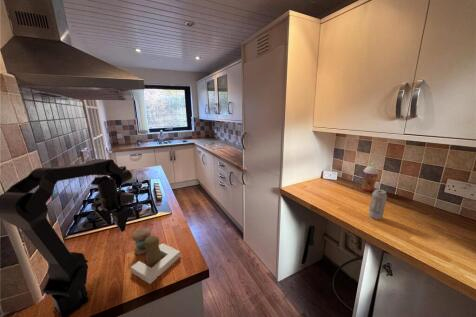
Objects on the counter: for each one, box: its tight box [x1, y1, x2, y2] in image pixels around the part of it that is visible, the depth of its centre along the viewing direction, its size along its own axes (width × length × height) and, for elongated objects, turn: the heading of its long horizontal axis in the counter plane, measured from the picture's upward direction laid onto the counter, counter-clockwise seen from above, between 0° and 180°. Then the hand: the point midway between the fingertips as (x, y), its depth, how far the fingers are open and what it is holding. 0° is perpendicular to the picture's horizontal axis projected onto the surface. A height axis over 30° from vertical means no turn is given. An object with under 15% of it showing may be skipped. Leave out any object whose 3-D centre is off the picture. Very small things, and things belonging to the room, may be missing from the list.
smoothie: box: [361, 161, 379, 193], centre depth 131 cm, size 8×8×20 cm
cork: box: [144, 235, 164, 268], centre depth 73 cm, size 6×6×11 cm
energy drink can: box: [368, 188, 388, 221], centre depth 100 cm, size 6×6×15 cm
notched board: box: [130, 242, 181, 285], centre depth 73 cm, size 14×10×2 cm
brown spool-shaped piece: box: [131, 227, 152, 256], centre depth 81 cm, size 7×7×8 cm
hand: (116, 227), depth 76 cm, fingers open, 9 cm apart
